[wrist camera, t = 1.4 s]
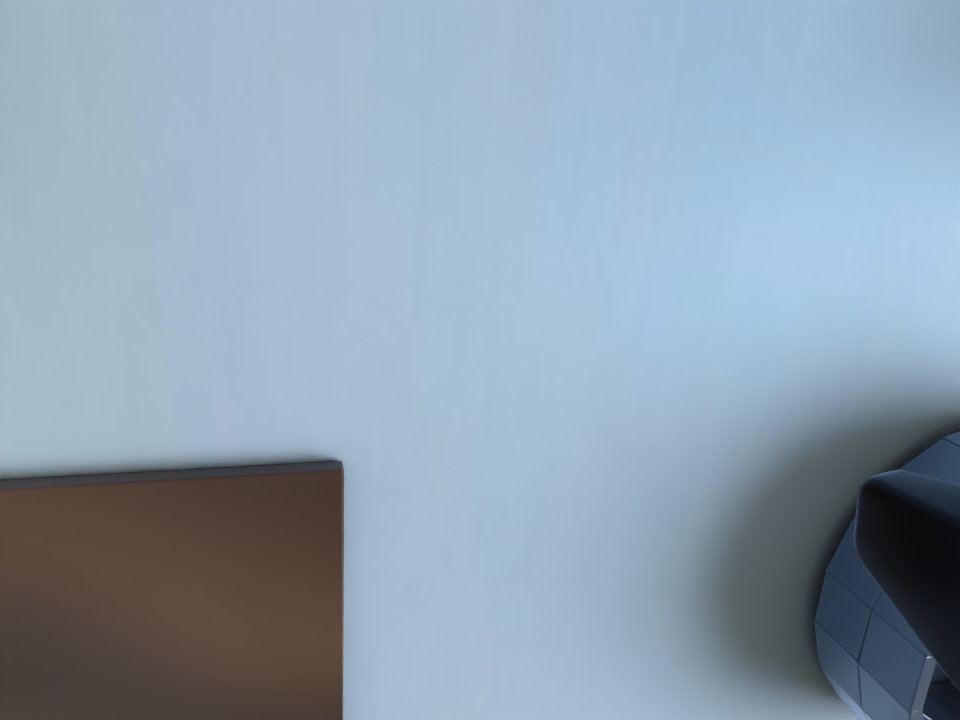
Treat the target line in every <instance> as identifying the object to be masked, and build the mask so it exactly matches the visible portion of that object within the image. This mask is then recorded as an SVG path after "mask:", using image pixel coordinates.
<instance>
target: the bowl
mask: <svg viewBox="0 0 960 720" xmlns="http://www.w3.org/2000/svg"><path fill="white" fill-rule="evenodd" d="M899 470H904V471H909V472H912V473H916V474H920V475H923V476H927V477H931V478H935V479H938V480H942V481H946V482H949V483H953V484H957V485H960V431H958V432H955V433H953V434H950V435H947V436H945V437H943V439H940V440H939V441H938V442H936V443H935V444H933V445H932V446H931V447H929V448H928V449H926V450H925V451H924V452H922V453H921V454H920V455H918V456H917V457H915V458H914V459H913V460H911V461H910V462H908V463H907V464H906V465H904V466H903V467H901V468H900V469H899ZM855 518H856V516H855ZM855 518H854V519H853V520H852V522H851V524H850V525H849V527H848V529H847V531H846V533H845V535H844V537H843V539H842V540H841V542H840V544H839V546H838V548H837V550H836V552H835V553H834V555H833V557H832V559H831V561H830V563H829V565H828V567H827V568H826V570H827V571H826V573H825V578H824V582H823V586H822V590H821V595H820V599H819V603H818V608H817V612H816V616H815V620H814V623H815V633H816V643H817V653H818V662H819V664H820V666H821V668H822V670H823V671H824V673H825V675H826V677H827V678H828V680H829V682H830V684H831V685H832V687H833V689H834V691H835V692H836V694H837V696H838V697H839V698H840V699H841V700H842V701H843V702H844V703H845V704H846V705H847V706H848V707H849V709H850V710H851V711H852V712H853V713H854V714H855V715H856V716H857V717H858V718H859V719H860V720H960V691H959V690H958V689H957V688H956V687H955V686H954V684H953V683H952V682H951V681H950V679H949V678H948V677H947V676H946V674H945V673H944V672H943V671H942V669H941V668H940V667H939V666H938V664H937V663H936V662H935V660H934V659H933V658H932V656H931V655H930V654H929V652H928V651H927V650H926V648H925V647H924V646H923V644H922V643H921V642H920V640H919V639H918V638H917V636H916V635H915V634H914V632H913V631H912V630H911V628H910V627H909V626H908V624H907V623H906V622H905V620H904V619H903V618H902V616H901V615H900V614H899V612H898V611H897V610H896V608H895V607H894V606H893V604H892V603H891V602H890V600H889V599H888V598H887V596H886V595H885V594H884V592H883V591H882V590H881V588H880V587H879V586H878V584H877V583H876V582H875V580H874V579H873V578H872V576H871V575H870V574H869V572H868V571H867V570H866V568H865V567H864V566H863V564H862V563H861V561H860V559H859V557H858V555H857V553H856V550H855V546H854V528H855Z"/></svg>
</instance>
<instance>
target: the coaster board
mask: <svg viewBox="0 0 960 720" xmlns="http://www.w3.org/2000/svg"><path fill="white" fill-rule="evenodd" d="M343 566H344V469H343V464H342V462H341V461H336V462H318V463H300V464H282V465H264V466H247V467H229V468H211V469H193V470H175V471H158V472H140V473H122V474H104V475H86V476H69V477H51V478H33V479H15V480H0V720H343Z"/></svg>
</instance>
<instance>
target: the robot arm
mask: <svg viewBox="0 0 960 720" xmlns="http://www.w3.org/2000/svg"><path fill="white" fill-rule="evenodd" d="M854 546H855V550H856V553H857V555H858V557H859V559H860V561H861V563H862V564H863V566H864V567H865V568H866V570H867V571H868V572H869V574H870V575H871V576H872V578H873V579H874V580H875V582H876V583H877V584H878V586H879V587H880V588H881V590H882V591H883V592H884V594H885V595H886V596H887V598H888V599H889V600H890V602H891V603H892V604H893V606H894V607H895V608H896V610H897V611H898V612H899V614H900V615H901V616H902V618H903V619H904V620H905V622H906V623H907V624H908V626H909V627H910V628H911V630H912V631H913V632H914V634H915V635H916V636H917V638H918V639H919V640H920V642H921V643H922V644H923V646H924V647H925V648H926V650H927V651H928V652H929V654H930V655H931V656H932V658H933V659H934V660H935V662H936V663H937V664H938V666H939V667H940V668H941V669H942V671H943V672H944V673H945V674H946V676H947V677H948V678H949V679H950V681H951V682H952V683H953V684H954V686H955V687H956V688H957V689H958V690H959V691H960V485H957V484H953V483H949V482H946V481H942V480H938V479H935V478H931V477H927V476H923V475H920V474H916V473H912V472H909V471H904V470H892V471H888V472H885V473H882V474H878V475H875V476H871V477H868V478H866V479H865V480H863V481H862V483H861V485H860V486H859V489H858V497H857V507H856V518H855V528H854Z"/></svg>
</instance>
